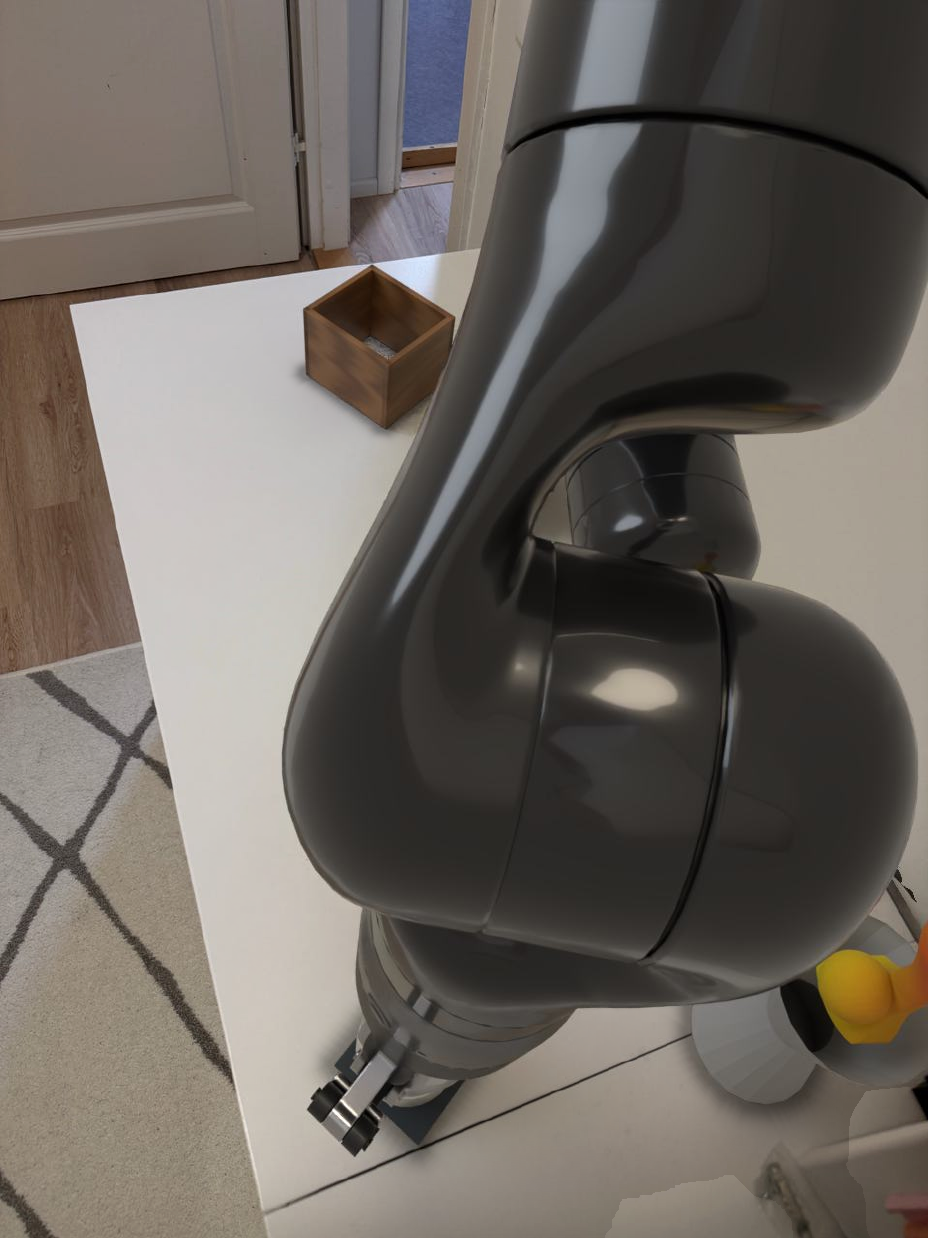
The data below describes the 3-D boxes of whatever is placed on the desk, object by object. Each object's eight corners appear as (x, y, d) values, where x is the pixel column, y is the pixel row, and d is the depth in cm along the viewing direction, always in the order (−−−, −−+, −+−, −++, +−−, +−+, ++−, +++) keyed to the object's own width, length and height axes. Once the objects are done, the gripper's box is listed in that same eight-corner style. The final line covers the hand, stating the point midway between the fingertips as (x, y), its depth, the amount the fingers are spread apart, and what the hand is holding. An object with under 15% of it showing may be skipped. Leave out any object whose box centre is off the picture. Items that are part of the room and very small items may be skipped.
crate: (447, 380, 91) (455, 316, 84) (385, 429, 86) (388, 365, 80) (370, 329, 94) (372, 263, 87) (305, 374, 89) (302, 308, 82)
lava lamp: (800, 961, 64) (1193, 774, 34) (832, 1105, 59) (1321, 1031, 29) (678, 963, 63) (975, 771, 33) (701, 1109, 58) (1070, 1037, 28)
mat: (486, 1049, 58) (488, 1048, 58) (417, 1146, 55) (418, 1146, 54) (405, 976, 60) (406, 975, 60) (334, 1066, 57) (334, 1065, 56)
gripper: (416, 1232, 26) (387, 1211, 40) (672, 856, 32) (569, 953, 47) (231, 1047, 27) (266, 1090, 42) (510, 730, 34) (459, 859, 48)
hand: (426, 1017), depth 44 cm, fingers closed on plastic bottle, 6 cm apart
